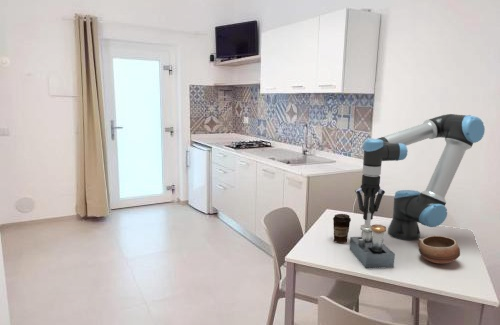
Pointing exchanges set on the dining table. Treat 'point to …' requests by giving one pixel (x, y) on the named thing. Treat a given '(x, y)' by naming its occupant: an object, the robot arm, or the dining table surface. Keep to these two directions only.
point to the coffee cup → (341, 227)
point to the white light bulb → (366, 234)
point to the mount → (372, 255)
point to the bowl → (439, 249)
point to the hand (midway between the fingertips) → (367, 226)
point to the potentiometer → (361, 242)
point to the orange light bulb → (377, 237)
